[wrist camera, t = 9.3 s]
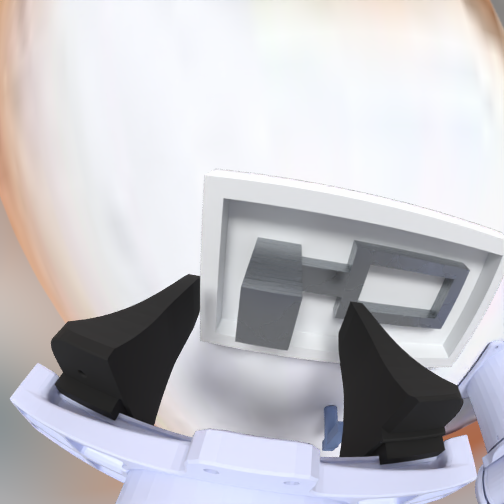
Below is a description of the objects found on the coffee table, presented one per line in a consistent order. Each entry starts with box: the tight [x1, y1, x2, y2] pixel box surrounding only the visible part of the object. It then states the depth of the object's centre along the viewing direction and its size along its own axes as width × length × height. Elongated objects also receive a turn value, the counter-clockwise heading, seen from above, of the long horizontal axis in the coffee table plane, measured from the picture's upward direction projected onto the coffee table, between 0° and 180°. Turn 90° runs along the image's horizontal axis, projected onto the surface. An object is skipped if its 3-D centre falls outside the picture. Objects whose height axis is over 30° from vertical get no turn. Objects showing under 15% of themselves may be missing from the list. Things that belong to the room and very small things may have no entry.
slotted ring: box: [235, 237, 470, 351], centre depth 13 cm, size 13×5×5 cm, turn 83°
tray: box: [200, 169, 504, 367], centre depth 15 cm, size 19×10×2 cm, turn 83°
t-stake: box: [322, 406, 343, 451], centre depth 20 cm, size 1×4×4 cm, turn 173°
